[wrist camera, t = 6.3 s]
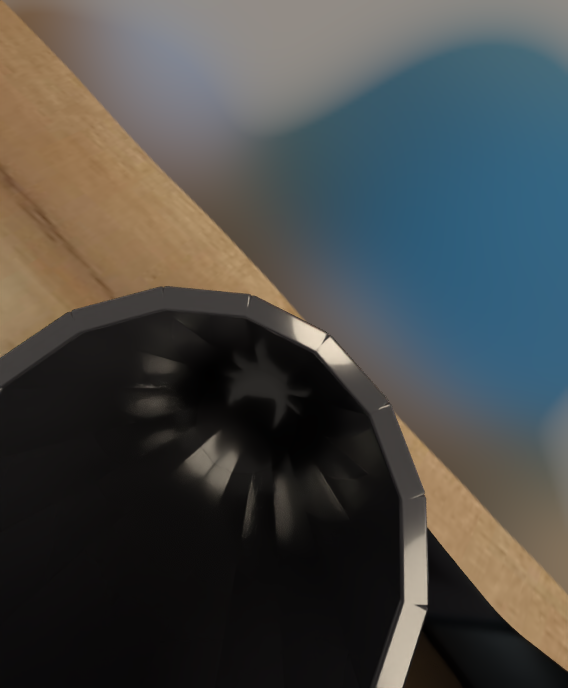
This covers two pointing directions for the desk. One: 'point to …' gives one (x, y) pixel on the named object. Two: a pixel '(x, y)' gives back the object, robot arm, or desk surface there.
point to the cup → (203, 504)
